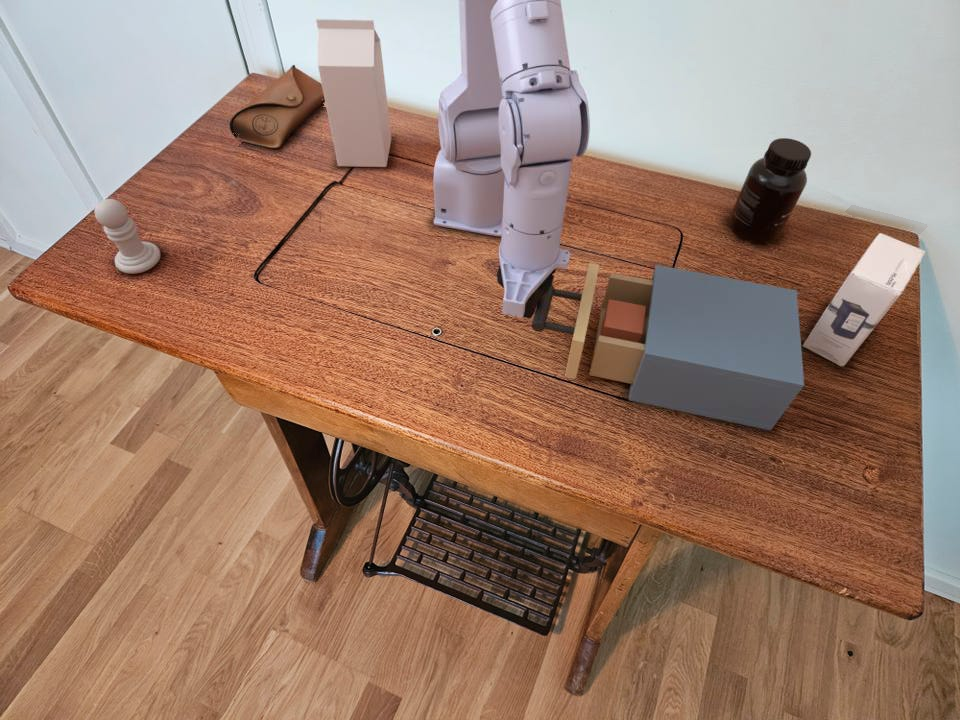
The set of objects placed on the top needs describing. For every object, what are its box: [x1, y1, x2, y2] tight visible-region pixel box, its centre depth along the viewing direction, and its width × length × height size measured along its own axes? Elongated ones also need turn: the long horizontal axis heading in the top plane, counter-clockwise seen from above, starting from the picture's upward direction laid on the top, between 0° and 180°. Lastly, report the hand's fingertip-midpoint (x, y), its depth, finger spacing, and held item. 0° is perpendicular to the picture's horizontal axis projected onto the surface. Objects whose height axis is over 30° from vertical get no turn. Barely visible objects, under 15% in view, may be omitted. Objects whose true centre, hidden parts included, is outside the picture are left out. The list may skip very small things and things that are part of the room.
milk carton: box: [315, 18, 392, 168], centre depth 84 cm, size 7×7×19 cm
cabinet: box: [628, 264, 805, 431], centre depth 65 cm, size 15×13×8 cm
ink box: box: [802, 232, 927, 367], centre depth 67 cm, size 8×5×12 cm, turn 140°
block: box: [601, 299, 646, 343], centre depth 66 cm, size 4×4×4 cm
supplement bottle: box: [728, 137, 812, 244], centre depth 78 cm, size 7×7×12 cm
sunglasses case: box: [229, 64, 326, 149], centre depth 97 cm, size 18×7×7 cm
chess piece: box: [93, 198, 161, 275], centre depth 74 cm, size 5×5×9 cm
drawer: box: [531, 262, 653, 385], centre depth 66 cm, size 18×11×6 cm, turn 76°
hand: (523, 312), depth 68 cm, fingers closed, pressing on drawer
